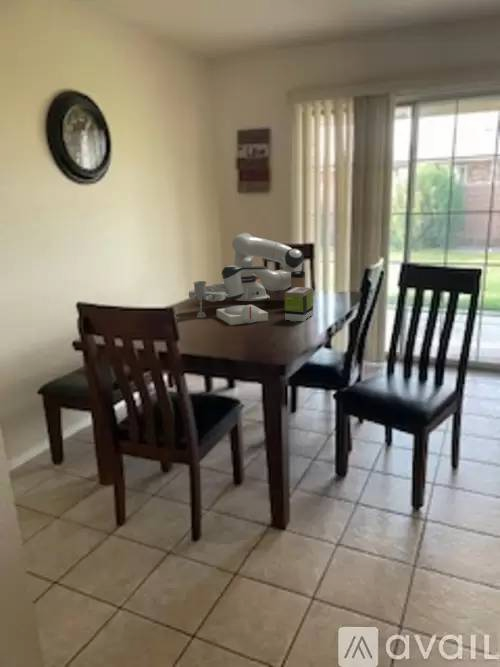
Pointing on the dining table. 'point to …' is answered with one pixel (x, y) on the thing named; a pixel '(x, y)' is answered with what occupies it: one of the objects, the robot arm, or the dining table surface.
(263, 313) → the dial scale
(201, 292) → the chalice
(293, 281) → the travel mug
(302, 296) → the tea box
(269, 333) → the dining table surface
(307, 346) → the dining table surface
